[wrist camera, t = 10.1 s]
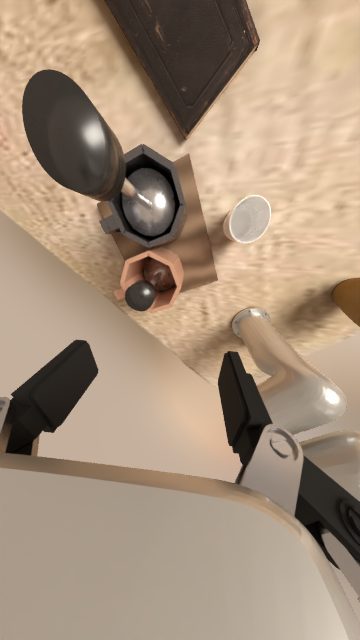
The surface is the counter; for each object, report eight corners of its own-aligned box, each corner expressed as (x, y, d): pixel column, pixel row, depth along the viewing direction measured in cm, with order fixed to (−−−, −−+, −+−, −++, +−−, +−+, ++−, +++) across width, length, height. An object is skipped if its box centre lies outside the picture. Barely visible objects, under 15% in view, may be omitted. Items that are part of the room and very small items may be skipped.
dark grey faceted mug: (191, 232, 37) (192, 229, 24) (141, 253, 40) (116, 261, 27) (176, 175, 32) (165, 129, 18) (119, 205, 35) (75, 184, 22)
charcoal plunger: (182, 224, 25) (167, 198, 9) (139, 243, 27) (61, 250, 11) (163, 158, 21) (72, -107, 5) (114, 185, 23) (-68, 60, 7)
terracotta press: (187, 282, 43) (186, 302, 30) (144, 297, 47) (126, 320, 33) (174, 241, 38) (165, 243, 25) (126, 261, 42) (96, 272, 28)
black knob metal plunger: (181, 283, 40) (174, 314, 23) (153, 292, 42) (128, 328, 25) (169, 250, 36) (152, 260, 19) (139, 262, 38) (99, 280, 21)
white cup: (241, 246, 39) (256, 248, 30) (215, 236, 38) (222, 236, 30) (258, 212, 35) (280, 203, 27) (228, 200, 34) (241, 188, 26)
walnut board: (217, 278, 44) (217, 280, 42) (147, 301, 49) (146, 303, 48) (189, 157, 31) (188, 153, 30) (100, 205, 37) (96, 204, 35)
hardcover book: (185, 144, 31) (185, 137, 29) (95, -11, 23) (85, -34, 21) (256, 52, 25) (261, 36, 23) (165, -197, 17) (162, -255, 15)
